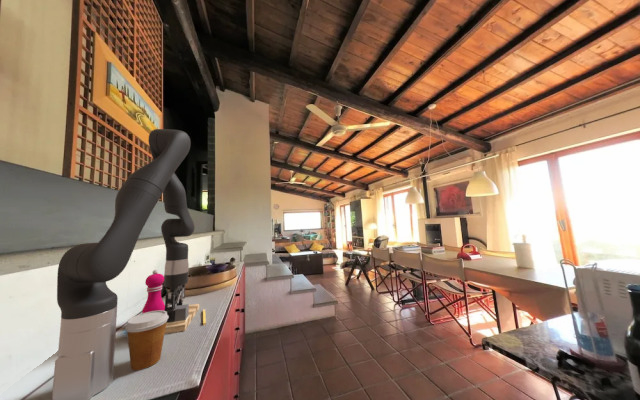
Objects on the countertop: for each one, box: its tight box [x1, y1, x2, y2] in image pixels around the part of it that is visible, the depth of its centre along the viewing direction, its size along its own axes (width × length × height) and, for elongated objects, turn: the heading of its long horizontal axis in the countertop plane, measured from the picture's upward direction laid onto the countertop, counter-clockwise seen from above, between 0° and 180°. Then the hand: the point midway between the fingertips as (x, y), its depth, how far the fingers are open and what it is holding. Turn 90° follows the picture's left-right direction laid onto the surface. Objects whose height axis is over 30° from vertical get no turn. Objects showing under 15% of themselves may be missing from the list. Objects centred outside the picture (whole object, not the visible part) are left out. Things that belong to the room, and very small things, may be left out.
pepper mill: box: [141, 269, 165, 314], centre depth 86 cm, size 7×7×20 cm
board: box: [164, 303, 200, 335], centre depth 86 cm, size 22×8×2 cm, turn 17°
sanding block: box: [164, 303, 190, 325], centre depth 80 cm, size 4×7×5 cm, turn 107°
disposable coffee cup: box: [124, 310, 169, 371], centre depth 60 cm, size 10×10×12 cm
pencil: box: [202, 308, 207, 326], centre depth 88 cm, size 16×1×1 cm, turn 28°
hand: (175, 317), depth 80 cm, fingers open, 8 cm apart
